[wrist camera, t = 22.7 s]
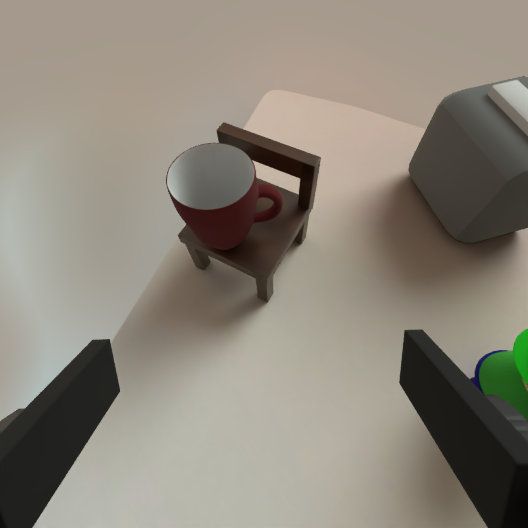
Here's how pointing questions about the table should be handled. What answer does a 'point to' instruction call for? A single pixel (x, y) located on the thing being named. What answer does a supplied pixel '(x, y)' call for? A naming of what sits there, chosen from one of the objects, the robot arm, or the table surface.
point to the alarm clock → (477, 161)
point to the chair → (268, 232)
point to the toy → (506, 374)
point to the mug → (219, 193)
